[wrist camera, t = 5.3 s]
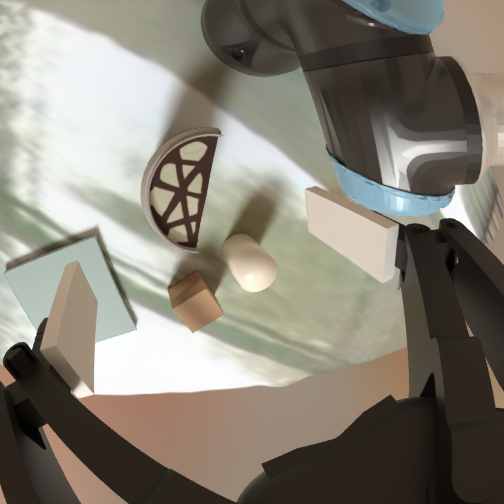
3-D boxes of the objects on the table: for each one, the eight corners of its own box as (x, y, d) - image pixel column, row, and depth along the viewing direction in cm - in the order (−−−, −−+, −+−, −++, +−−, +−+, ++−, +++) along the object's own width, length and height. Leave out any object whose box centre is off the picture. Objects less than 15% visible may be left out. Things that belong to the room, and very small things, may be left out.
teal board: (95, 234, 33) (94, 237, 32) (136, 325, 40) (136, 329, 39) (5, 269, 29) (3, 273, 28) (54, 350, 36) (53, 354, 35)
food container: (149, 119, 30) (154, 117, 21) (200, 126, 32) (224, 129, 24) (133, 220, 34) (134, 254, 26) (181, 224, 37) (198, 258, 28)
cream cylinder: (252, 228, 41) (274, 249, 35) (258, 259, 43) (279, 283, 37) (218, 239, 40) (234, 263, 34) (225, 270, 42) (242, 297, 36)
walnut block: (197, 269, 40) (206, 288, 36) (214, 294, 43) (224, 314, 39) (167, 288, 40) (172, 308, 36) (185, 311, 42) (192, 333, 38)
